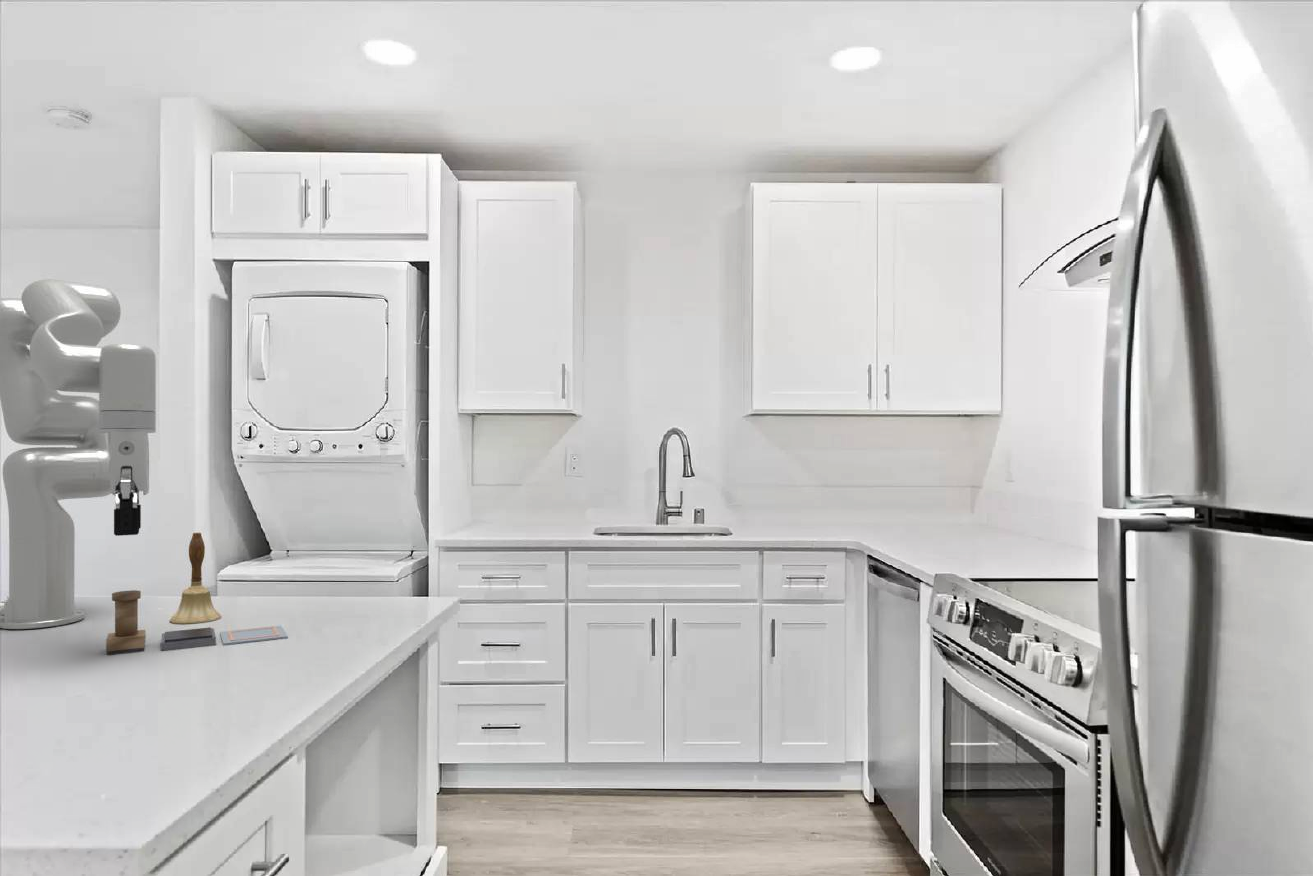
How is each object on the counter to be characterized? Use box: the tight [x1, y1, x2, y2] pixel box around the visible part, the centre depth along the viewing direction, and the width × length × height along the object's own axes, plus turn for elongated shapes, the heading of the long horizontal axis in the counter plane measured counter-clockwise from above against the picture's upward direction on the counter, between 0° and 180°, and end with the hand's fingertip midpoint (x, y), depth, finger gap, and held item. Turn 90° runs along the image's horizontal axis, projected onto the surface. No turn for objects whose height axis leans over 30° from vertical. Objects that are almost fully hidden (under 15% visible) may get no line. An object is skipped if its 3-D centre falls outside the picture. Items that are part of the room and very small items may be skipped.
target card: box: [219, 625, 289, 646], centre depth 139 cm, size 10×10×1 cm
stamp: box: [105, 590, 146, 656], centre depth 129 cm, size 5×5×9 cm
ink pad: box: [160, 627, 217, 651], centre depth 134 cm, size 8×8×2 cm
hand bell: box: [169, 532, 222, 625], centre depth 152 cm, size 8×8×16 cm
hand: (127, 532), depth 130 cm, fingers open, 9 cm apart
